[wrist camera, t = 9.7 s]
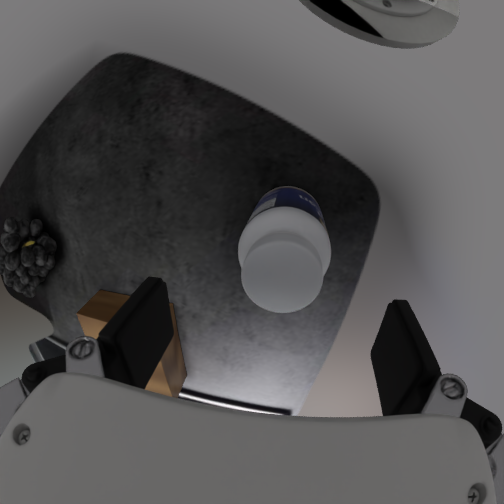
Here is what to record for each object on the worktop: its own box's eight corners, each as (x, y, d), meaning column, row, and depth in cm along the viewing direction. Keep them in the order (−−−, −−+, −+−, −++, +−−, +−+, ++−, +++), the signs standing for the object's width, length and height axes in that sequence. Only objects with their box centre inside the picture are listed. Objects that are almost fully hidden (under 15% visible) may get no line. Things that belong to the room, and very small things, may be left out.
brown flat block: (79, 284, 29) (55, 307, 24) (173, 303, 27) (152, 335, 23) (108, 359, 35) (92, 382, 30) (188, 382, 33) (176, 411, 29)
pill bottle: (335, 220, 21) (360, 284, 12) (286, 260, 23) (279, 339, 14) (288, 170, 20) (284, 202, 11) (241, 216, 22) (204, 276, 13)
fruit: (2, 324, 24) (7, 270, 18) (-15, 273, 24) (-8, 204, 18) (46, 306, 32) (72, 253, 25) (28, 261, 32) (50, 197, 26)
